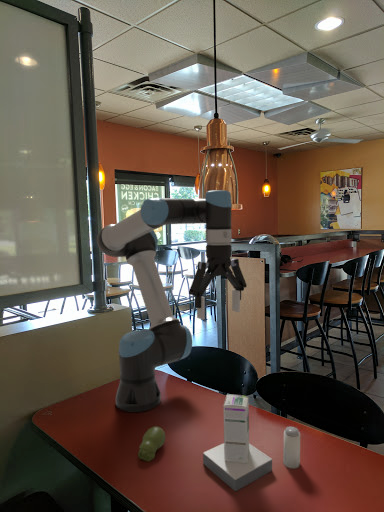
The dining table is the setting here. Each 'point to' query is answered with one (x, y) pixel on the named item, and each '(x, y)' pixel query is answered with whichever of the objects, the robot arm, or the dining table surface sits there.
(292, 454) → the shaker
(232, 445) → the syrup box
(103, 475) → the dining table surface
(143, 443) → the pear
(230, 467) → the riser
